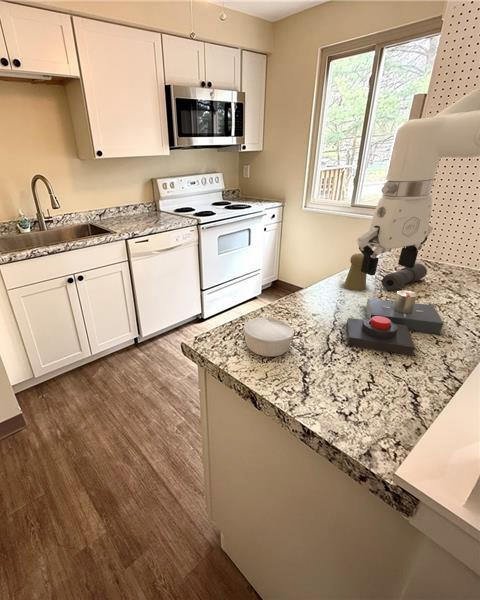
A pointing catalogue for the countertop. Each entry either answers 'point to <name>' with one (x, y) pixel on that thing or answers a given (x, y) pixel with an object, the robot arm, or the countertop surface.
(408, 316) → the control panel
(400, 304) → the dial
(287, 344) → the ramekin
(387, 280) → the flashlight
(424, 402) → the countertop surface
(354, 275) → the cork
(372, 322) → the power button
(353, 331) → the switch block
